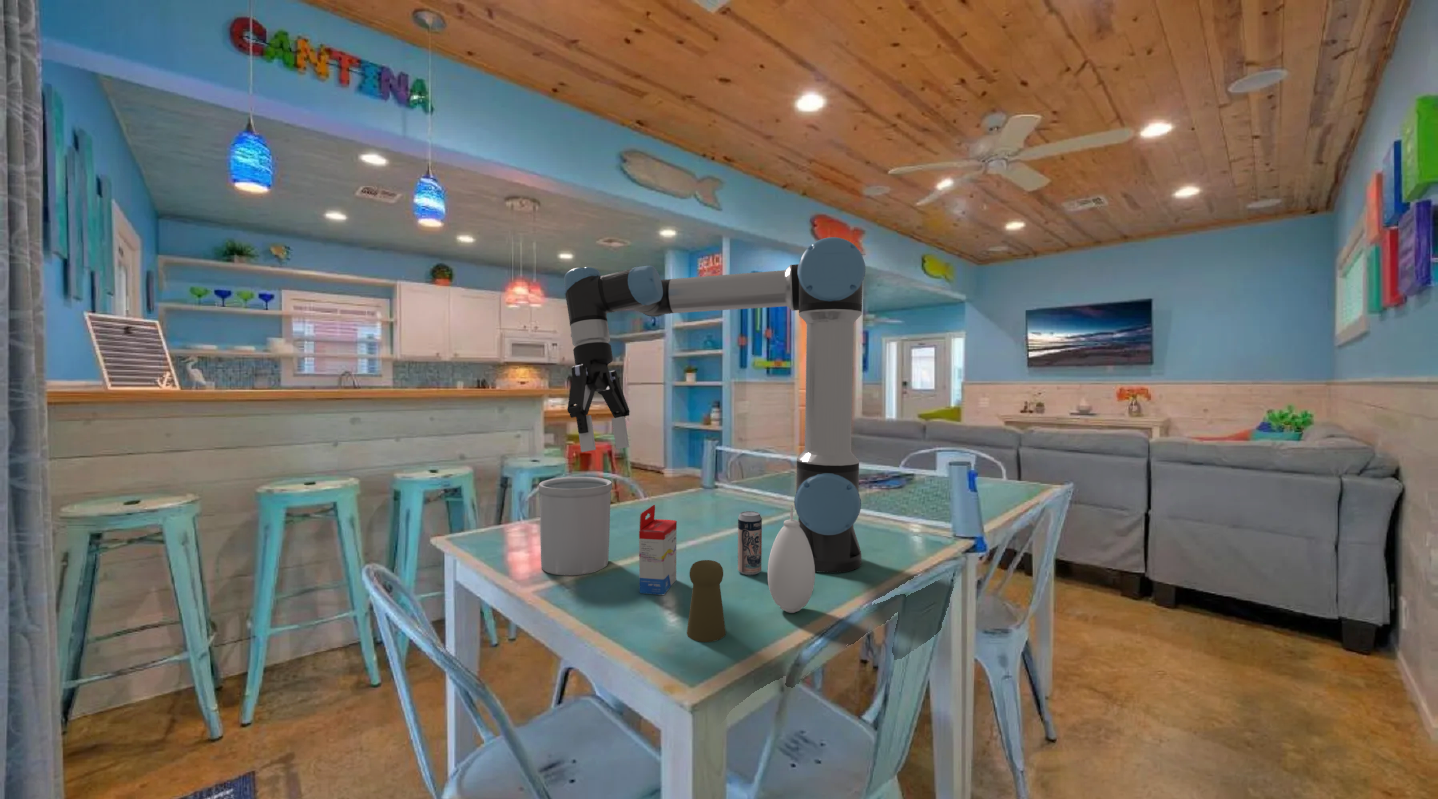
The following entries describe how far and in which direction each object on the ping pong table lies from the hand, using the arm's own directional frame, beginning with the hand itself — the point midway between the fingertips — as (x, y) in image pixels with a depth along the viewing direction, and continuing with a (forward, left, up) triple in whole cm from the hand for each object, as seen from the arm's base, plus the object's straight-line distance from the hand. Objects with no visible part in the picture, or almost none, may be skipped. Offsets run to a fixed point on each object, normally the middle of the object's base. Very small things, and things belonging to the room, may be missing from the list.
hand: (606, 449), depth 110 cm
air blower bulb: (-34, +19, -25) cm, 46 cm away
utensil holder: (+7, -6, -25) cm, 27 cm away
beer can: (-29, 0, -25) cm, 38 cm away
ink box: (-11, +7, -25) cm, 28 cm away
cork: (-19, +26, -25) cm, 41 cm away
